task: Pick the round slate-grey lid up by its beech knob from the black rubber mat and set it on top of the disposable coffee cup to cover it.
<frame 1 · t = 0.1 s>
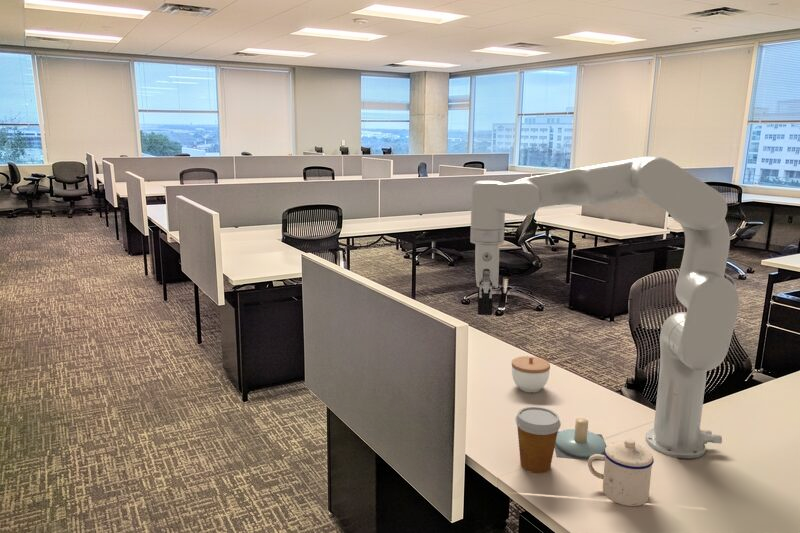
hand: (484, 308, 134), 31 cm above the table, tool pointing down, fingers open, 9 cm apart
mat: (579, 446, 133), on the table
lidded jar: (529, 388, 165), on the table
cover: (580, 445, 133), resting on mat
teacup with lid: (617, 493, 116), on the table
disposable coffee cup: (535, 467, 125), on the table
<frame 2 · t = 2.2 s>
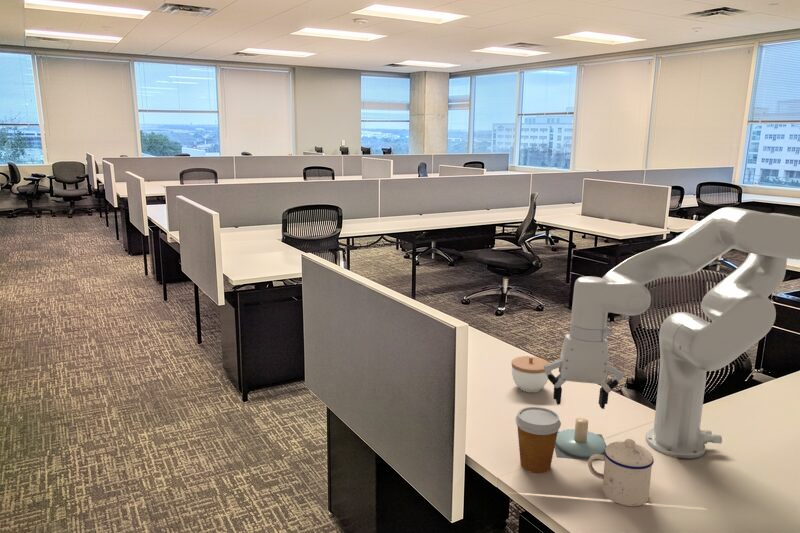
hand: (579, 404, 131), 11 cm above the table, tool pointing down, fingers open, 9 cm apart
nothing on the table moved.
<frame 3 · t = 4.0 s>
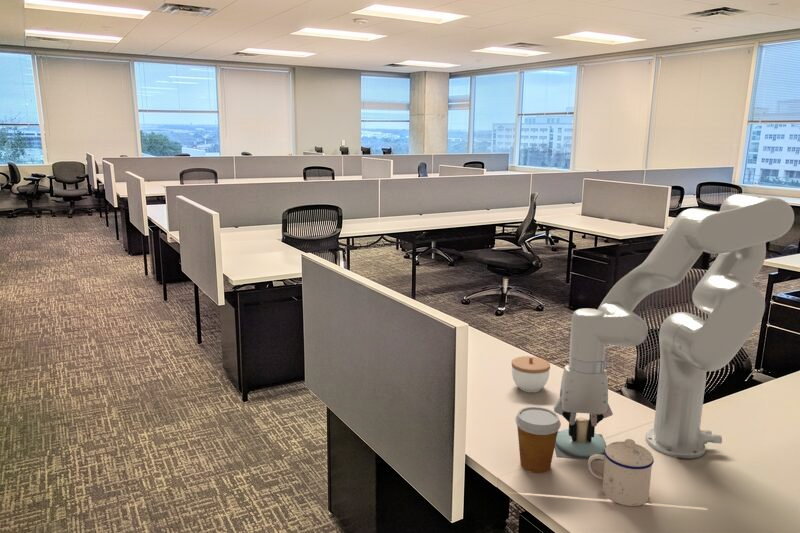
hand: (580, 438, 133), 2 cm above the table, tool pointing down, fingers closed on cover, 2 cm apart
cover: (580, 444, 133), resting on mat, touching gripper
everything else where it was.
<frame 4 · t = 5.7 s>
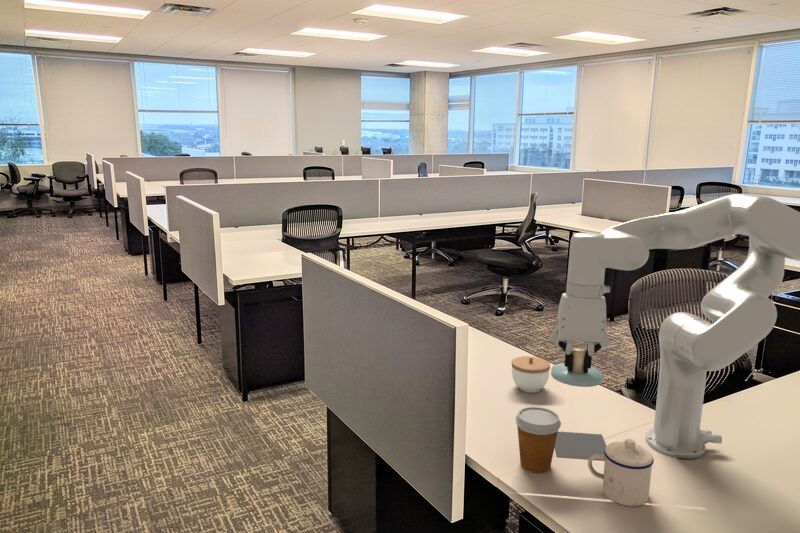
hand: (577, 369, 128), 20 cm above the table, tool pointing down, fingers closed on cover, 2 cm apart
cover: (576, 376, 128), point 18 cm above the table, touching gripper
everything else where it was.
when the fingers open (15 cm above the table, at t = 7.3 s): cover drops 2 cm, resting on disposable coffee cup.
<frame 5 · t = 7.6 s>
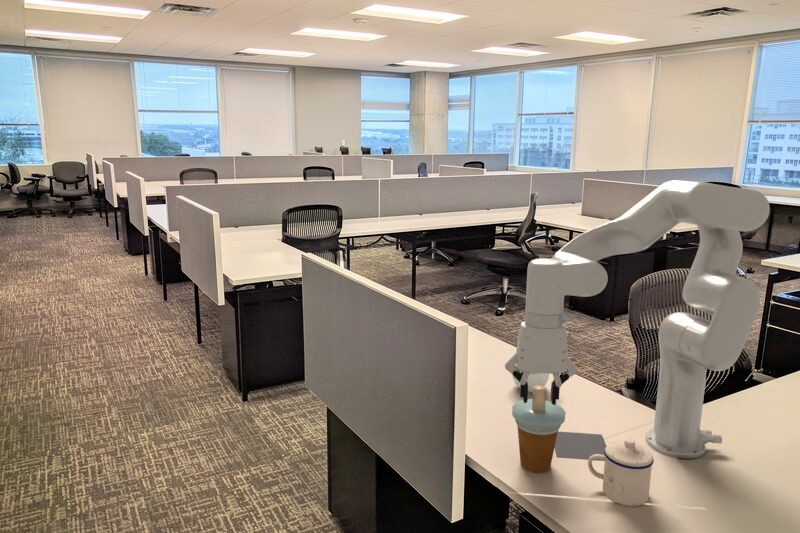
hand: (539, 400, 122), 15 cm above the table, tool pointing down, fingers open, 5 cm apart
cover: (538, 415, 123), point 12 cm above the table, touching disposable coffee cup
disposable coffee cup: (535, 467, 125), on the table, touching cover
everything else where it was.
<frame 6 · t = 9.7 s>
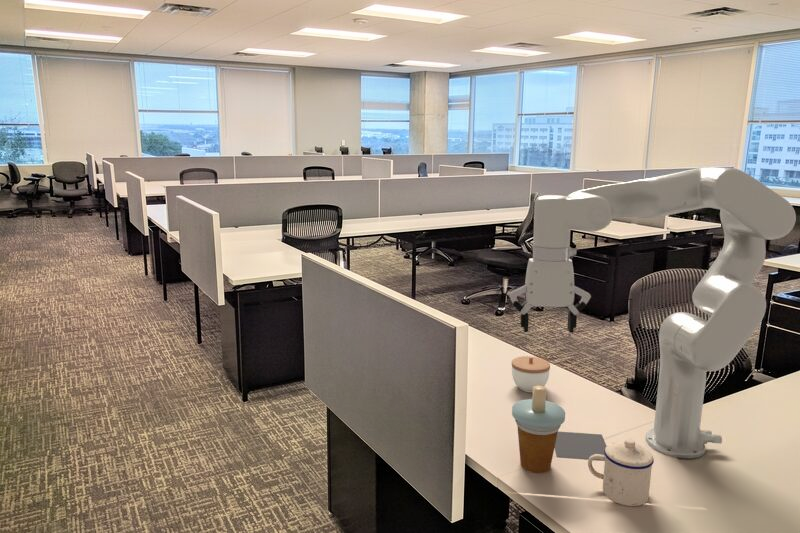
hand: (547, 330, 126), 29 cm above the table, tool pointing down, fingers open, 9 cm apart
nothing on the table moved.
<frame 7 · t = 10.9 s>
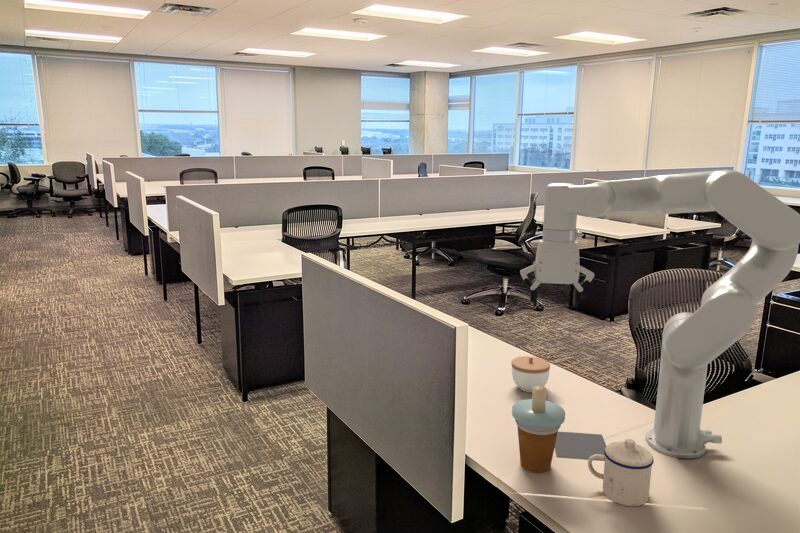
hand: (554, 305, 139), 30 cm above the table, tool pointing down, fingers open, 9 cm apart
nothing on the table moved.
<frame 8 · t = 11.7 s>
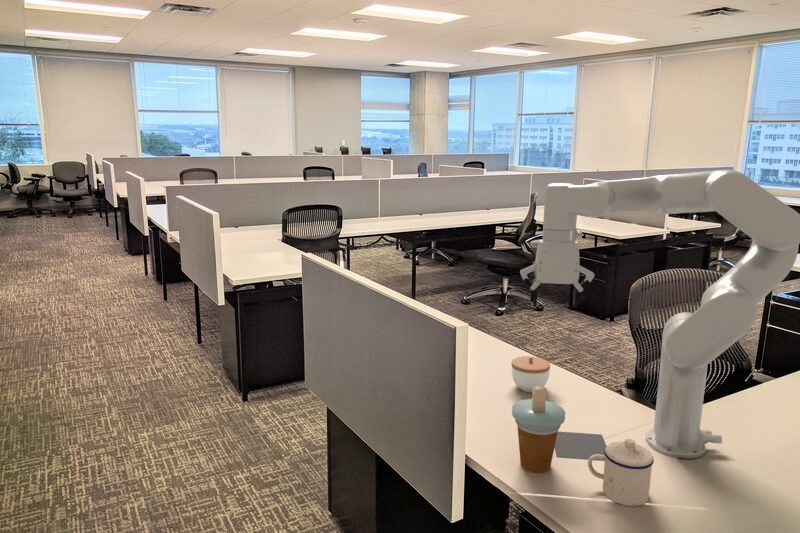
hand: (554, 305, 139), 30 cm above the table, tool pointing down, fingers open, 9 cm apart
nothing on the table moved.
at the end: cover 0.1 cm from the disposable coffee cup (horizontally); cover point 12.0 cm above the table; disposable coffee cup tilted 0° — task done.
